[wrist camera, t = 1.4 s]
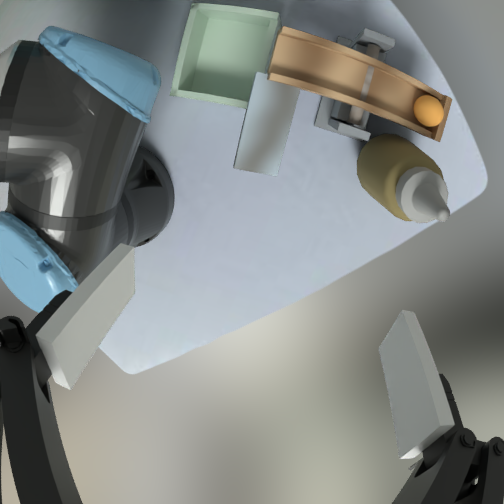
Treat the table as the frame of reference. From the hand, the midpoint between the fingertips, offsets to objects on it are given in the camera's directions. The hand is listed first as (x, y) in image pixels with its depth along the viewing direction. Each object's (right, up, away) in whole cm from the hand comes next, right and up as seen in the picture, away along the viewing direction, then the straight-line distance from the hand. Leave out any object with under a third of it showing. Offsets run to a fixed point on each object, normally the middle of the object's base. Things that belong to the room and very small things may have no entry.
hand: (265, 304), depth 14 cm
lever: (+8, +17, +14) cm, 24 cm away
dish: (-3, +26, +17) cm, 31 cm away
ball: (+16, +16, +9) cm, 25 cm away
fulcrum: (+11, +22, +17) cm, 30 cm away
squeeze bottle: (+15, +14, +21) cm, 29 cm away
